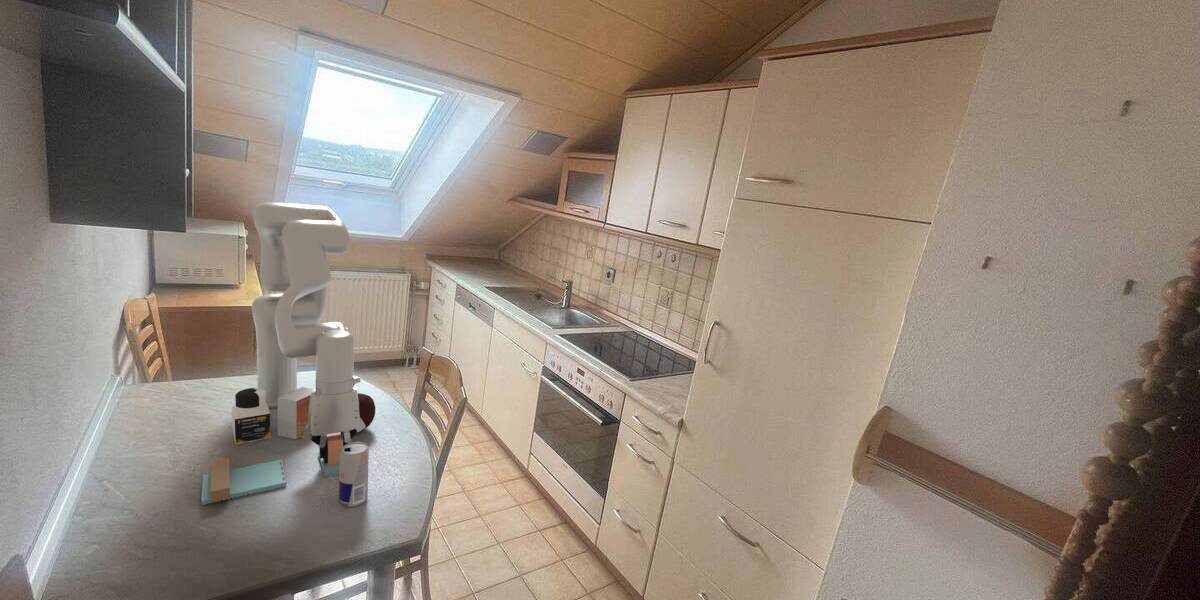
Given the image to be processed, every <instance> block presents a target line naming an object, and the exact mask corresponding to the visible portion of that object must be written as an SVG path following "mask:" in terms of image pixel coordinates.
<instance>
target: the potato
mask: <svg viewBox="0 0 1200 600" xmlns="http://www.w3.org/2000/svg"><path fill="white" fill-rule="evenodd" d="M357 394H358V401H359V415H360V418H361V419H362V421H363V422H364V424H365V425H366V427H365V428H364V429H363V430H366V429H367V428H368V427H369V426H370V425H371V424H372V422H373V421H374V418H375V416H376V404H375V401H374V399H373V398H372V397H371V396H370V395H367V394H365V393H361V392H360V393H359V392H357ZM363 430H362V431H363Z"/></svg>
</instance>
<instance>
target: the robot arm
mask: <svg viewBox="0 0 1200 600" xmlns="http://www.w3.org/2000/svg"><path fill="white" fill-rule="evenodd" d="M252 214H253V223H254V227H255V230H256V231H257V234H258V236H259V240H260V264H259V265H260V267H259V281H260V285H261V287H262V288H263V289H264V290H265V291H268V292H274V293H268V294H261V295H259V296H258V297H256V298H255V299H254V300H253V302H252V303H251V314H252V319H253V322H254V329H255V336H256V359H257V360H256V365H257V367H256V368H257V374H256V375H257V388H259V389H263V390H264V391H265V392H266V403H267V406H268V408H269V409H271V408H278V397H280V396H283V395H286V394H288V393H290V392H293V391H295V390H297V389H298V381H297V380H298V367H297V366H298V365H297V364H298V362H297V361H298V360H297V359H300V358H308V357H309V358H310V357H315V388H314V390H312V392H311V396H310V402H309V411H308V424H307V425H306V427H305V429H304V430H303V432H302V434H301V437H300V438H301V439H303V440H306V441H311V442H312V443H314V444H316V445H317V446H319V452H320V459H321V458H323V460H324V463H327V462H328V446H327V443H326V438H327V434H333V433H338V432H340V433H342V434H341V435H342V438H343V446H344V445H346V444H348V443H351V440H352V439H353V438H354V437H355V436H356V434H358V433H359V432H361V431H363V429H364V428H365V427H366V425H365V424H364V422H363V421H362V419H361V418H360V415H359V401H358V394H357V393H358V390H357V387H356V384H360V383H361V376H355V374H354V372H355V371H354V370H355V367H354V366H355V365H354V362H355V359H354V358H355V336H354V335H353V334H352V332H350V330H349V328H348V327H347V326H346V325H345V323H343V322H341V321H326V322H325V321H324V322H321V321H322V320H323V318H324V315H325V308H326V307H325V306H326V298H327V297H326V295H327V289H328V288H327V287H328V286H329V284H331V282H332V273H331V270H330V269H331V268H330V264H329V259H328V255H343V254H345V253H347V252H348V251H349V248H350V244H351V239H350V234H349V231H348V227H347V226H346V224H345V223H344V222H343V220H342V219H341V218H340V217H339V216H338V215H337V214H336V213H335V212H334V211H333V210H332V209H331V208H329V207H327V206H323V205H316V204H315V205H314V204H304V203H303V204H301V203H292V202H291V203H289V202H275V201H273V202H272V201H269V202H267V201H265V202H261V203H258V204H257V205H256V206H255V208H254V209H253V213H252ZM365 429H366V428H365ZM365 429H364V430H365ZM320 459H319V460H320Z"/></svg>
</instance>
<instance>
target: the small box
mask: <svg viewBox="0 0 1200 600" xmlns="http://www.w3.org/2000/svg"><path fill="white" fill-rule="evenodd" d="M314 389H315V388H314ZM314 389H312V388H310V387H309V388H308V387H304V386H301V387H299V388H297V390H295V391H293V392H290V393H288V394H286V395H283V396H280V397H278V407H277V437H284V438H288V439H292V440H298V439H300V438H302V437H301V434H302V432H303V430H304V429H305V427H306V425H307V424H308V411H309V402H310V396H311V392H312V390H314Z"/></svg>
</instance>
